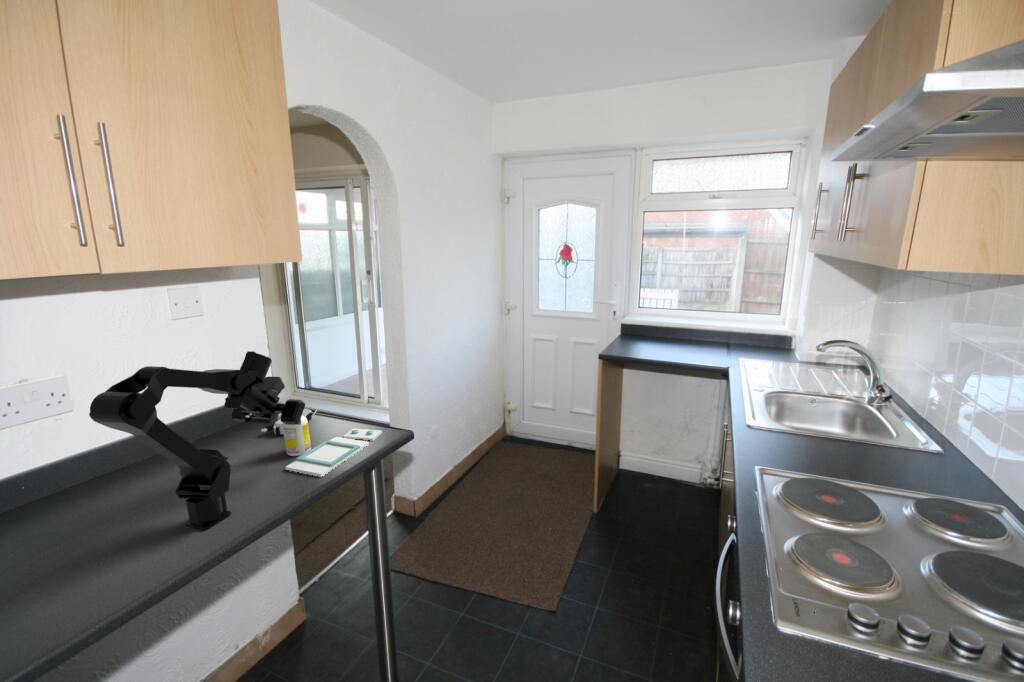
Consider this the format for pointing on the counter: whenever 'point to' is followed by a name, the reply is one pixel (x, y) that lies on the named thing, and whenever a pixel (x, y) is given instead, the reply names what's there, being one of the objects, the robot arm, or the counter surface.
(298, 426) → the supplement bottle
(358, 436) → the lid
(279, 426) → the robot toy
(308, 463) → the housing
